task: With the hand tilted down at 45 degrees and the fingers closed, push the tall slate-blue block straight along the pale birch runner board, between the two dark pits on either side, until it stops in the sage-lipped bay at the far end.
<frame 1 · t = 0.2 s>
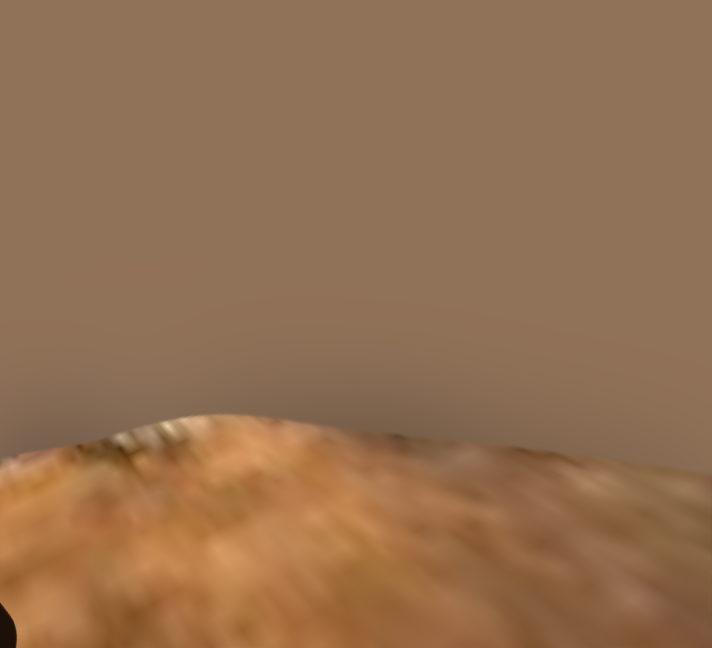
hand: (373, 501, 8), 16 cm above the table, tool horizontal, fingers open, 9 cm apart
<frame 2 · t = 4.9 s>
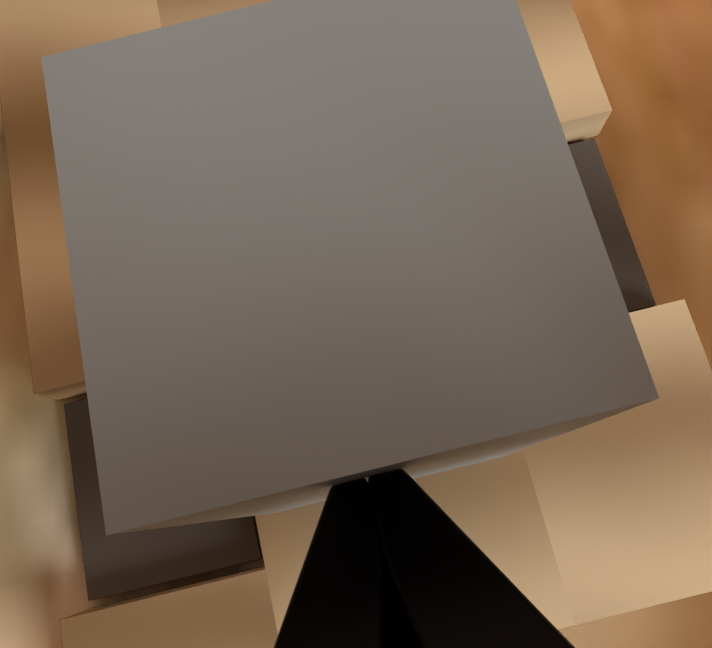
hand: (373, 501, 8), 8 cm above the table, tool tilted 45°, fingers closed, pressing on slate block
slate block: (363, 374, 15), point 1 cm above the table, touching gripper, trap board
trap board: (300, 120, 18), on the table
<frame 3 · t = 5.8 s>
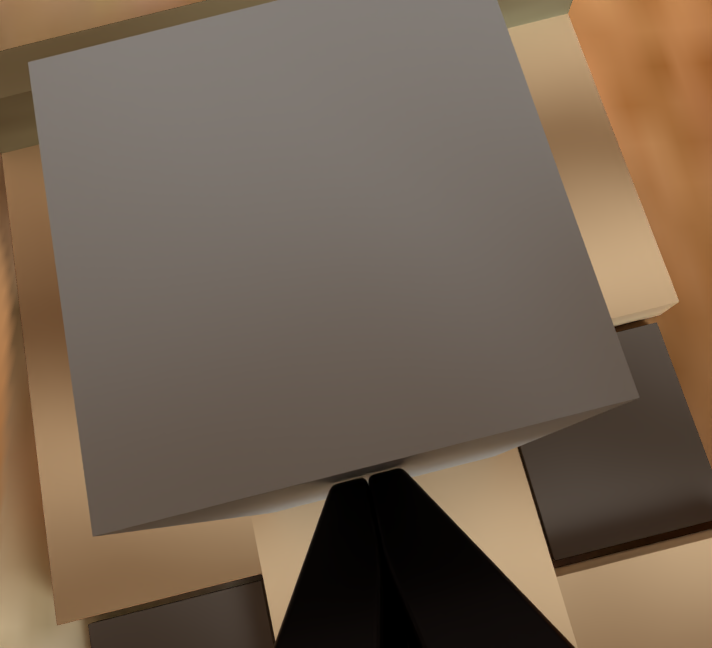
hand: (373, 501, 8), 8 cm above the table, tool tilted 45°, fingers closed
slate block: (355, 375, 15), point 1 cm above the table, touching trap board
trap board: (338, 295, 17), on the table
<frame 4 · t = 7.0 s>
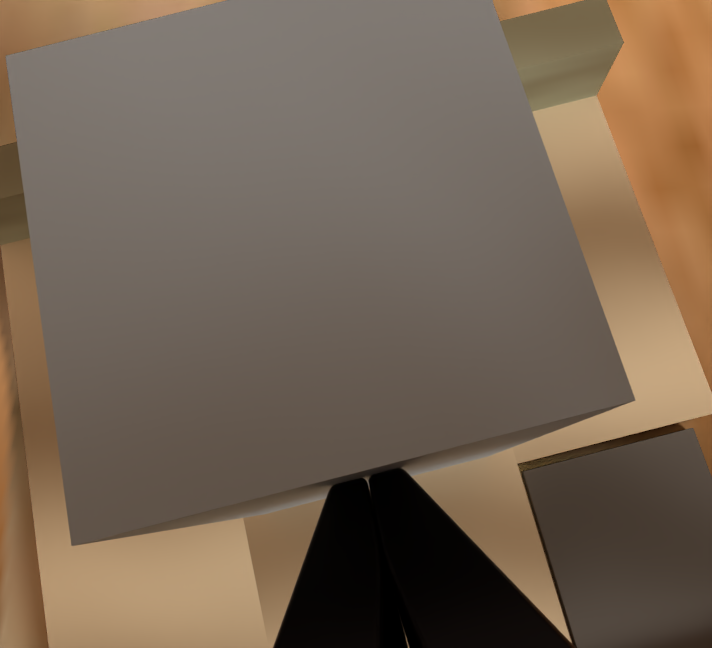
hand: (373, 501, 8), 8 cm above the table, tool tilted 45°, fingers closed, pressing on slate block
slate block: (349, 374, 15), point 1 cm above the table, touching gripper, trap board
trap board: (356, 394, 16), on the table
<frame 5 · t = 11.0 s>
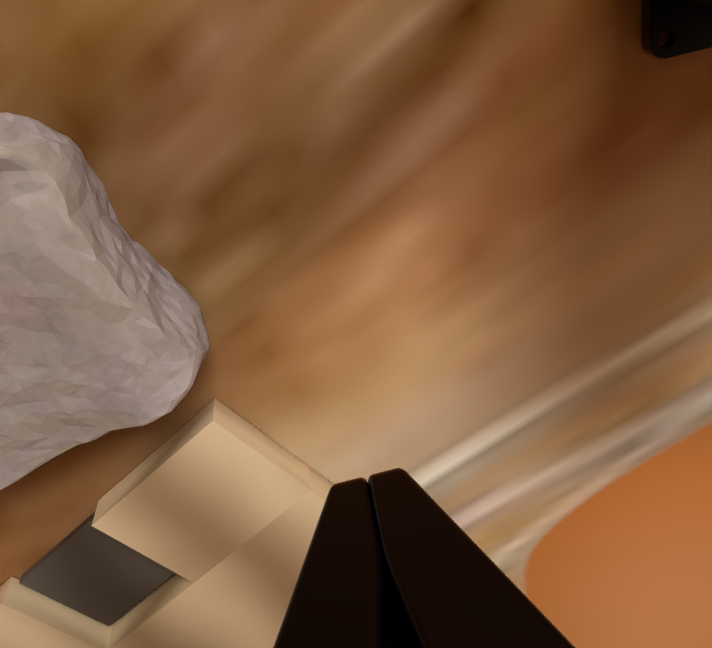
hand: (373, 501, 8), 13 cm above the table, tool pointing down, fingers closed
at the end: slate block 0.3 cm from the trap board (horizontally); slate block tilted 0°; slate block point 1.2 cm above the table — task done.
